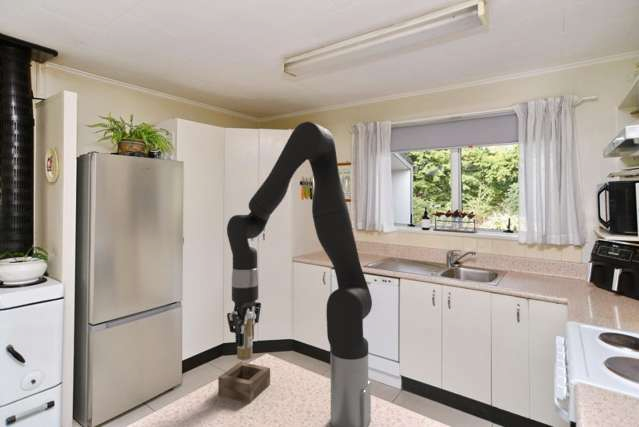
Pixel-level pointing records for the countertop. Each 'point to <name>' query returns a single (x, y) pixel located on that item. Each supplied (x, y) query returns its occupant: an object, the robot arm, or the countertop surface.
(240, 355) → the sprinkles bottle
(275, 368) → the countertop surface
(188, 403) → the countertop surface
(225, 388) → the frame
